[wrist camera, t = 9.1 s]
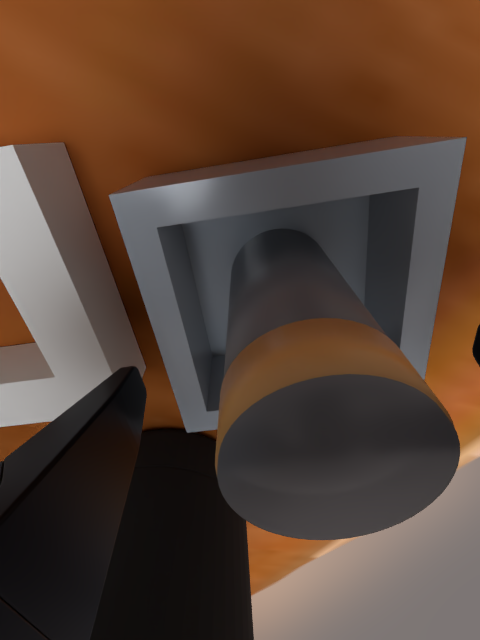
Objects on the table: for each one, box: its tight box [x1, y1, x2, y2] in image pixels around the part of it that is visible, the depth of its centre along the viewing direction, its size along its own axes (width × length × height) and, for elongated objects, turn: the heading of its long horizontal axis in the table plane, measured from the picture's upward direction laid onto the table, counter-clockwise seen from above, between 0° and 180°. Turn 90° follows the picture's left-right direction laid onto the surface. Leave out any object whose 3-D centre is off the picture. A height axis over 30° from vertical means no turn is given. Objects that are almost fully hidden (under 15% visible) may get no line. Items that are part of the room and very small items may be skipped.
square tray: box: [109, 136, 467, 433], centre depth 12 cm, size 9×9×4 cm
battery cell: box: [215, 228, 460, 540], centre depth 9 cm, size 4×4×9 cm
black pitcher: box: [90, 429, 254, 640], centre depth 16 cm, size 9×9×10 cm
